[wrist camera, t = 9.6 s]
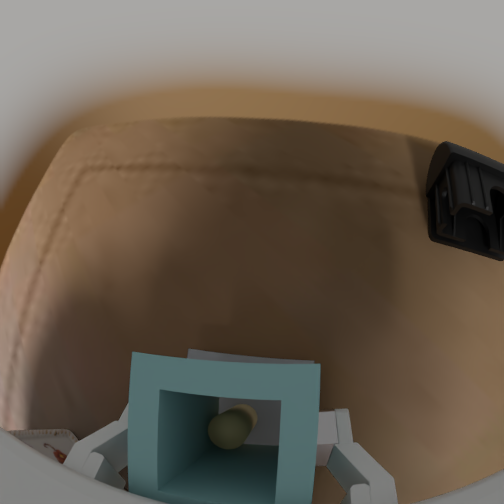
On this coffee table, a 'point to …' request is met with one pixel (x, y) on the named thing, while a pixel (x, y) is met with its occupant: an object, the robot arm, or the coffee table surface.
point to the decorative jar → (48, 442)
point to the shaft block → (244, 409)
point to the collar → (197, 439)
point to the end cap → (466, 201)
